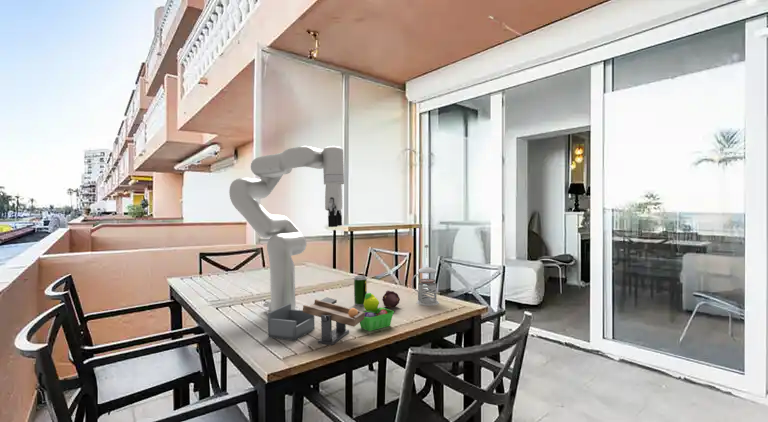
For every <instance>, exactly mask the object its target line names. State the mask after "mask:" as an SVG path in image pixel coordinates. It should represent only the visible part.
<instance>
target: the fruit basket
mask: <svg viewBox="0 0 768 422" xmlns="http://www.w3.org/2000/svg"><path fill="white" fill-rule="evenodd" d="M379 305H380V301H379V300H378V298H377V297H376V296H375V295H374V294H373V293H371V292H368V293H367V294H366V295H365V301H364V306H363V309H364V310H363V311H362V312H365V317H364V320H362V321H361V322H360V323H359V325H360V328H361V329H363V330H365V331H367V332H372V331H375V330H379V329H383V328H386V327H387V328H388V327H390V326H391V323H392V318H393V315H394V311H395V310H391V309H389V308H387V307H386V308H385V307H379Z"/></svg>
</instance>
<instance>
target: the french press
mask: <svg viewBox="0 0 768 422" xmlns="http://www.w3.org/2000/svg"><path fill="white" fill-rule="evenodd" d="M429 247H430V246H429V245H428V244H424V248H426V253H425V254H426V257H428V253H427V252H428V248H429ZM417 272H418V273H420V274H435V273H437V269H435V268H433V267H430V266H425V267H421V268H419V269H418V270H417ZM418 273H417V274H416V273H415V274H414V275H413V276H412V278H411V286H412V288H413V290H414V291H416V292H417V301H416V304H417V305H418V306H419V305H420V306H423V307H424V306H427V307H429V306H437V305H439V304H440V302H439V301H438V299H437V283H436V279H434V278H428V277H426V278H420V279H418V281H419V282H418V283H417V284H418V289H416V288H415V287H414V285H413V283H414V279H415V277H417V278H419V277H420V275H419V274H418Z"/></svg>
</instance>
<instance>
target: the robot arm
mask: <svg viewBox="0 0 768 422" xmlns="http://www.w3.org/2000/svg"><path fill="white" fill-rule="evenodd" d="M344 164H345V163H344V150H343V148H342V147H341V146H338V145H337V146H335V145H332V146H331V145H329V146H326V147H324V148H322V149H321V148H317V147H314V146H313V147H312V146H307V145H303V146H297V147H289V148H287V149H285V150H284V151H282V152H280V153H273V154H267V155H262V156H259V157H256V158H254V159H253V160H252V161H251V163H250V170H251V172H252V173H253V174H254V175H255V176H256V177H259V178H254V177H253V178H251V177H240V178H236V179H234V180H233V181H231V183H230V186H229V190H228V193H229V200H230V203H232V205H233V206H234V208H235V209H236V211H238V212H239V213H240V215H241V216H242V217H244V219H245V220H246V222H247V223H248V224H249V226H250V227H251V228H252V229H253V230H254V231H255V233H257V234H258V235H259V237H261V238H263V239H268V240H267V243H266V251H267V256H268V262H269V277H270V279H269V280H270V282H269V283H270V284H269V285H270V287H269V288H270V300H265V301H264V303H263V304H262V305H263V307H265V308H266V307H267V308H268V309H267V311H266V315H267V316H268V313H269V312H271V311H273V310H276V309H278V308H280V307H282V306H285V305H287V304H291V309H292V310H301V308H300V307H299V306H296V270H295V269H296V268H295V267H296V266H295V263H294V260H293V258H292V256H298V255H300V254H302V253H304V251H305V250H306V248H307V240H306V237H305V236H304V234H303V233H302V232H301V231H300V229H299V228H298V227H297V226H296V225H295V224H294V222H292V220H291V219H290V218H289V217H287V216H286V215H284V214H272V213H270V212H269V211H268V210H267V209H265V207H264V206H263V205H262V204H261V203H260V202H258V201H257V200H258V199H259V200H261V199H262V200H263V199H265V198H267V197H269V195H270V194H271V193H272V192H273V190H274V189H275V187H276V186H277V185H278V184H279V182H280V181H281V179H282V177H283V176H284V175H288V174H290V173H291V172H292V171H293V169H296V168H312V169H317V170H320V169H321V170H322V169H323V185H325V192H324V194H325V195H324V210H325V211H328V212H327V214H328V215H327V223H328V227H329V228H337V227H340V226H343V215H342V210H343V193H342V192H343V189H342V187H343V186H342V185H345V170H344V169H345V167H344V166H345V165H344ZM255 199H257V200H255Z"/></svg>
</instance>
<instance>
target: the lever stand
mask: <svg viewBox="0 0 768 422" xmlns="http://www.w3.org/2000/svg"><path fill="white" fill-rule="evenodd" d="M320 318H321V319H320V323H321V324H320V325H321V326H320V327H321V329H320V330H321V333H320V335H321V338H319V339H318V340H317V344H320V345H331V346H333V345H335V344H336V343H337V342H339V341H340V340H341V339H342V338H344V337H345V336H346V335H347V334H349V333H350V329H347V327H346V326H347V325H346V324H343V323H339V322H336V321H335V328H334V329H333V328H332V324H333V322H332V318H331V315H321V317H320Z"/></svg>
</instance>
